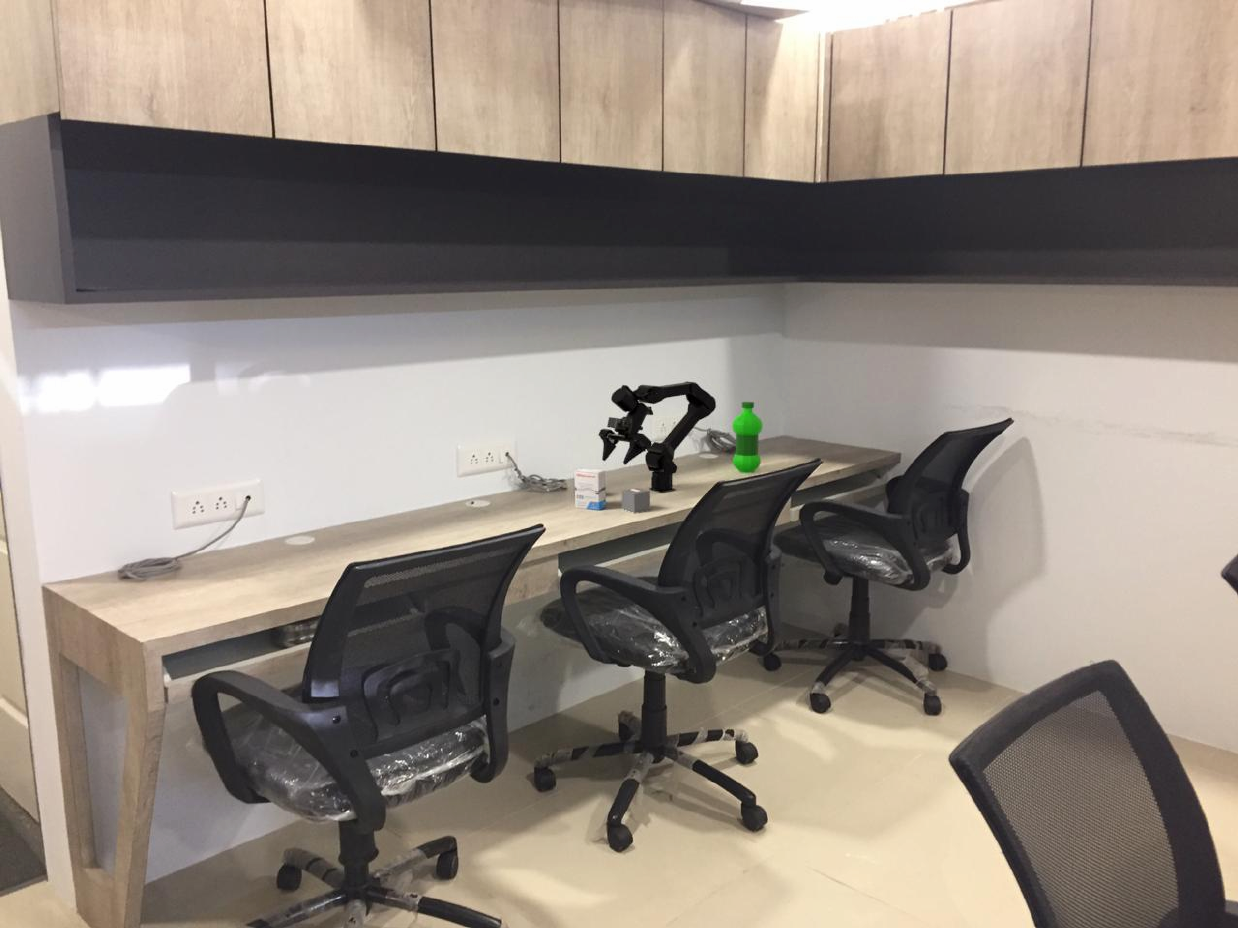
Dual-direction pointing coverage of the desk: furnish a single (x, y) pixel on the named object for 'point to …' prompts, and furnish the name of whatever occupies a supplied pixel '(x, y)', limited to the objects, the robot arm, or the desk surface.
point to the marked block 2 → (636, 500)
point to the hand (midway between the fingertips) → (613, 462)
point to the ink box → (590, 489)
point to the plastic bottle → (747, 439)
